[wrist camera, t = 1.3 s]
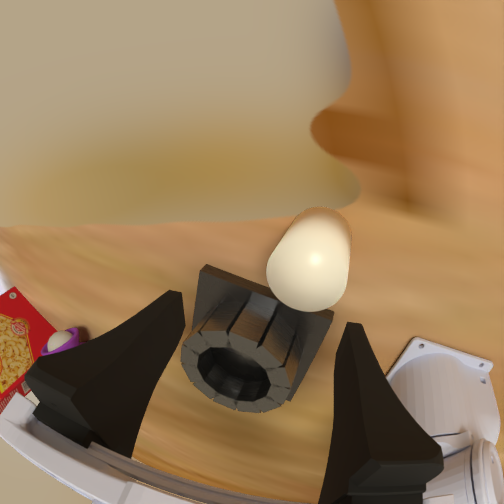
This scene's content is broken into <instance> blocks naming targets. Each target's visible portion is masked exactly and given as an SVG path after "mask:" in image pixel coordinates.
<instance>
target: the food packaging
mask: <svg viewBox="0 0 504 504" xmlns="http://www.w3.org/2000/svg"><path fill="white" fill-rule="evenodd" d="M55 332H58V331H57V330H56V329H55V328H54V327H52V326H51V325H50V324H49V323H48V322H47V321H46V320H45V318H44V317H43V316H42V315H41V314H40V313H39V312H38V311H37V310H36V309H35V308H34V307H33V306H32V305H31V304H30V303H29V302H28V301H27V299H26V298H25V297H24V296H23V295H22V294H21V293H20V292H19V291H18V289H17V288H16V287H15V286H14V287H13V288H11V289H10V290H8V291H7V292H5V293H4V294H2V295H1V296H0V415H1V413H2V412H3V410H4V409H5V407H6V406H7V405H8V403H9V402H10V400H11V399H12V398H13V396H14V395H15V393H16V392H18V393H20V394H21V395H23V396H24V397H25V396H26V395H27V394H28V393H29V392H30V391H31V389H30V388H29V387H28V385H27V384H26V382H25V379H24V375H25V374H26V372H27V371H28V370H29V368H30V367H31V366H32V365H33V363H34V362H35V361H36V360H37V358H38V357H39V356H43V355H42V354H41V350H42V348H43V347H44V345H45V344H46V343H47V342H48V341H49V338H50V337H51V336H52V335H53V334H54V333H55Z"/></svg>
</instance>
